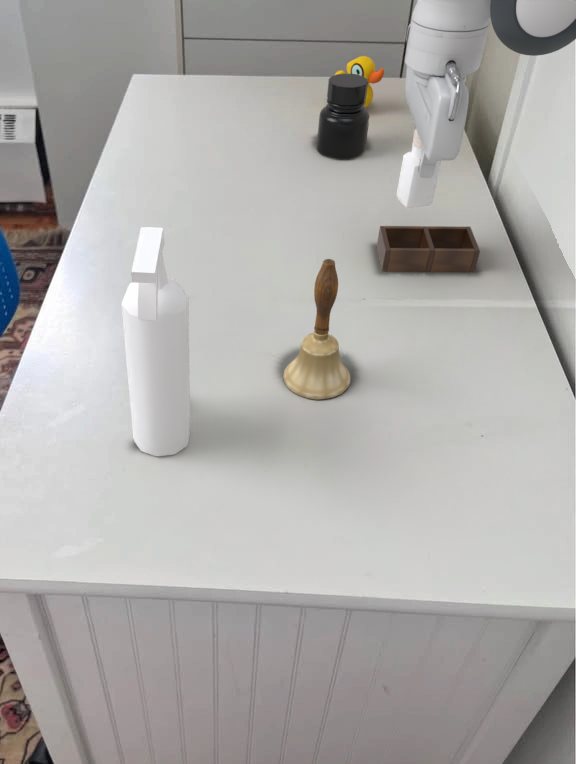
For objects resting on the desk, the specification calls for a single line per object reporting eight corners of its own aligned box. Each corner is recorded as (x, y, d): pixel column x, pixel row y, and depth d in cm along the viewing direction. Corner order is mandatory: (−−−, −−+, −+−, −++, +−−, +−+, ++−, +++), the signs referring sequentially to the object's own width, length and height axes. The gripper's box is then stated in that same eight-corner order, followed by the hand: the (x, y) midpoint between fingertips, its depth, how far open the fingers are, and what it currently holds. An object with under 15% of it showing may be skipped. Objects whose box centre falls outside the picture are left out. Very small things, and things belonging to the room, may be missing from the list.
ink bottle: (374, 146, 134) (384, 77, 125) (355, 165, 129) (364, 93, 120) (326, 136, 137) (333, 67, 129) (306, 153, 132) (311, 83, 124)
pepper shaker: (433, 207, 98) (449, 135, 91) (405, 210, 97) (419, 138, 90) (421, 193, 100) (435, 123, 93) (394, 196, 100) (407, 126, 93)
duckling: (384, 114, 144) (393, 59, 137) (369, 122, 142) (376, 66, 134) (339, 99, 150) (345, 46, 142) (323, 107, 147) (328, 52, 140)
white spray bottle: (199, 398, 87) (191, 199, 68) (188, 470, 79) (176, 268, 60) (144, 395, 87) (122, 197, 69) (127, 467, 79) (97, 265, 61)
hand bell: (269, 374, 90) (275, 259, 78) (319, 349, 93) (332, 235, 81) (313, 409, 85) (327, 293, 73) (364, 382, 88) (385, 266, 77)
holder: (462, 254, 108) (470, 226, 105) (472, 280, 103) (480, 251, 100) (375, 254, 109) (380, 225, 105) (380, 279, 104) (385, 250, 100)
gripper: (491, 80, 78) (460, 202, 88) (456, 21, 91) (432, 133, 102) (432, 80, 78) (408, 202, 88) (406, 21, 92) (388, 133, 102)
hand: (421, 165), depth 95 cm, fingers closed on pepper shaker, 4 cm apart
